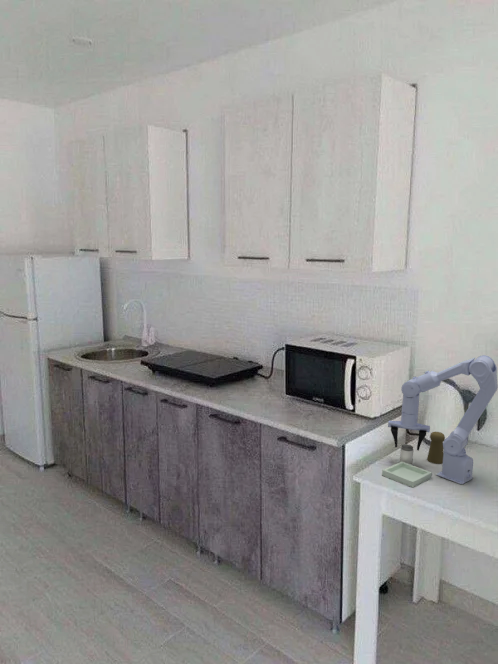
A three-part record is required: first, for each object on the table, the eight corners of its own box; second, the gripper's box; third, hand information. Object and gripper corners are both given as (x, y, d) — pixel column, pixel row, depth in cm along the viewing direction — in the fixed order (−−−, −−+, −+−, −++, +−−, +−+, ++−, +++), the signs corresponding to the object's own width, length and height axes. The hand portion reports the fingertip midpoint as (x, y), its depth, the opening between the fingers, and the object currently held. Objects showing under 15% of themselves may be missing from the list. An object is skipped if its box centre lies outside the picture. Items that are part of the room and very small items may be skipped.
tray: (431, 477, 181) (432, 472, 180) (412, 487, 173) (413, 482, 172) (401, 466, 189) (401, 461, 189) (382, 475, 182) (382, 469, 181)
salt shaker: (414, 464, 191) (415, 446, 190) (407, 468, 188) (409, 449, 187) (404, 461, 194) (405, 443, 193) (397, 464, 192) (398, 446, 190)
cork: (446, 464, 192) (448, 435, 191) (429, 463, 193) (432, 435, 191) (440, 457, 198) (443, 430, 197) (424, 457, 199) (427, 429, 197)
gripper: (431, 411, 190) (427, 446, 192) (390, 406, 194) (387, 441, 196) (431, 417, 183) (427, 454, 185) (388, 412, 188) (386, 447, 190)
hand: (407, 447), depth 190 cm, fingers open, 7 cm apart
